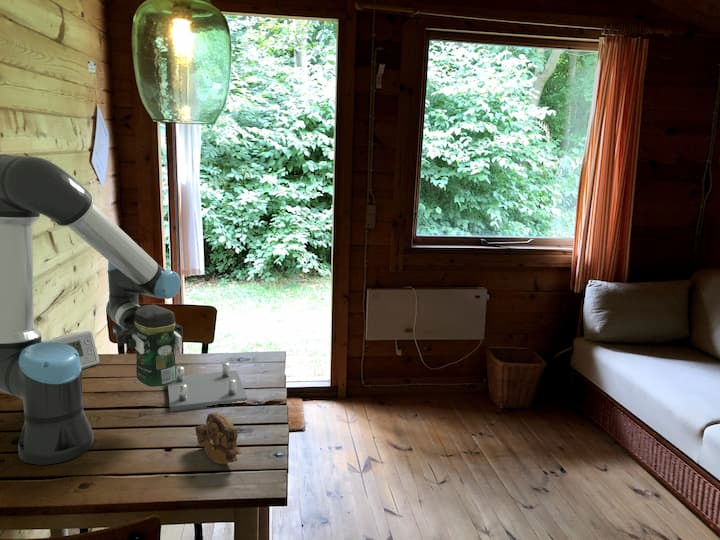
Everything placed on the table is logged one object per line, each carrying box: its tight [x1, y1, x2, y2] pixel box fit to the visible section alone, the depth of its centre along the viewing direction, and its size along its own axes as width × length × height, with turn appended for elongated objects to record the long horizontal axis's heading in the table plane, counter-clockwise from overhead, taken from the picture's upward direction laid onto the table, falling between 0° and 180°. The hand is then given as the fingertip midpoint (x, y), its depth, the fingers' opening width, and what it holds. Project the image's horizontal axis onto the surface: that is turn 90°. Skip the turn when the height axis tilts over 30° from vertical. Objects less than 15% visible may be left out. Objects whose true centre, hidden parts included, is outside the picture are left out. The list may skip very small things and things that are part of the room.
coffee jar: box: [135, 304, 177, 388], centre depth 137 cm, size 10×8×19 cm
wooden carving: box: [194, 412, 242, 465], centre depth 127 cm, size 16×5×10 cm, turn 48°
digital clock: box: [41, 329, 100, 371], centre depth 173 cm, size 16×9×11 cm, turn 132°
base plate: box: [167, 361, 248, 412], centre depth 161 cm, size 20×20×6 cm
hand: (161, 345), depth 133 cm, fingers closed on coffee jar, 8 cm apart
